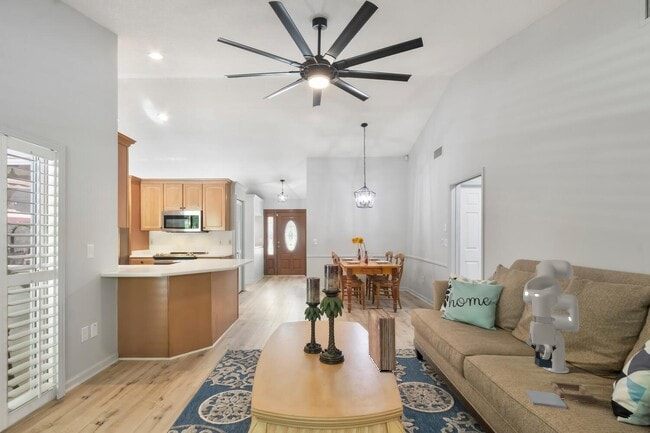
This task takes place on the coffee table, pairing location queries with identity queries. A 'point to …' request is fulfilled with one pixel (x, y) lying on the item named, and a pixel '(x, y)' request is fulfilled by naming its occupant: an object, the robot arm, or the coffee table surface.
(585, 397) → the pocket frame
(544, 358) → the watch
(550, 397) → the pad
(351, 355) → the coffee table surface
